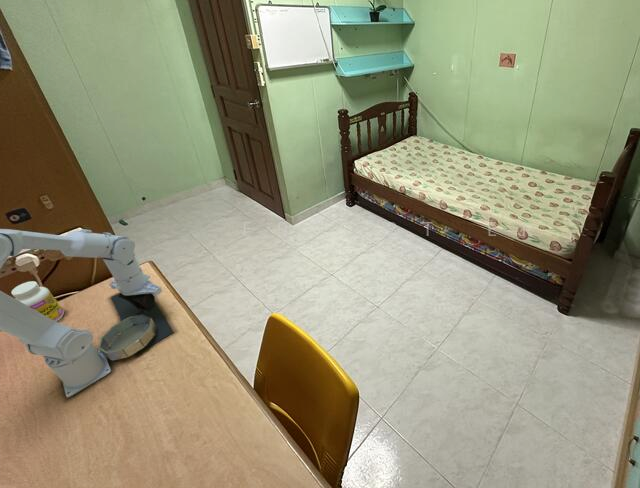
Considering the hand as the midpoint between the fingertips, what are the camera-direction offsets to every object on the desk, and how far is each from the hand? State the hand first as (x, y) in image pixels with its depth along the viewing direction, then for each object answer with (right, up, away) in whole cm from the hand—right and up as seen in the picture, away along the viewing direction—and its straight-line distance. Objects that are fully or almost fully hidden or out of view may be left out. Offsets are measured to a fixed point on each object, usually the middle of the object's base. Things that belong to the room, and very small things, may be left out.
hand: (147, 307), depth 90 cm
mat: (-3, -2, +1) cm, 3 cm away
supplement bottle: (-27, -3, -1) cm, 27 cm away
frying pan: (+1, -5, -4) cm, 6 cm away
